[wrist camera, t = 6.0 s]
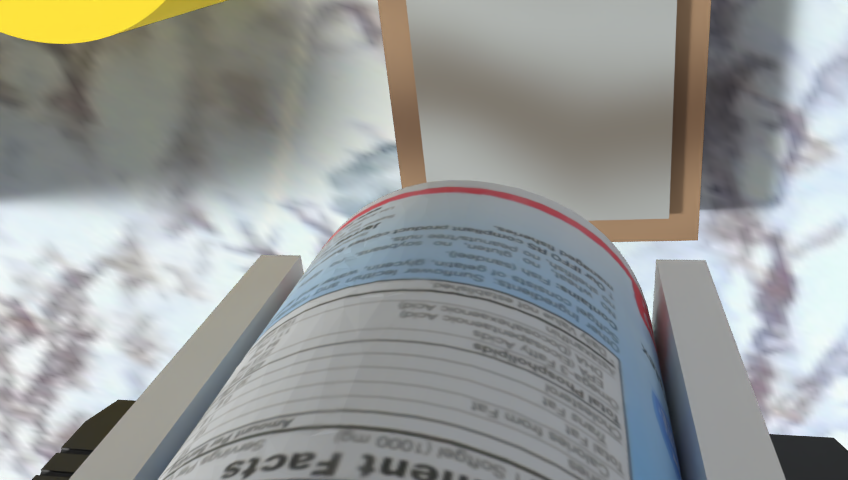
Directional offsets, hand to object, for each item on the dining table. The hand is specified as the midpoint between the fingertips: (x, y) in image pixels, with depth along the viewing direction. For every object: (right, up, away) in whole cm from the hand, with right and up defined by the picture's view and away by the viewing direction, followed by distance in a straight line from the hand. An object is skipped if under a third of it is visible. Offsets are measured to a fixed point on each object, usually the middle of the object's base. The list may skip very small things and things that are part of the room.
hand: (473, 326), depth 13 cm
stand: (+3, +7, +13) cm, 15 cm away
